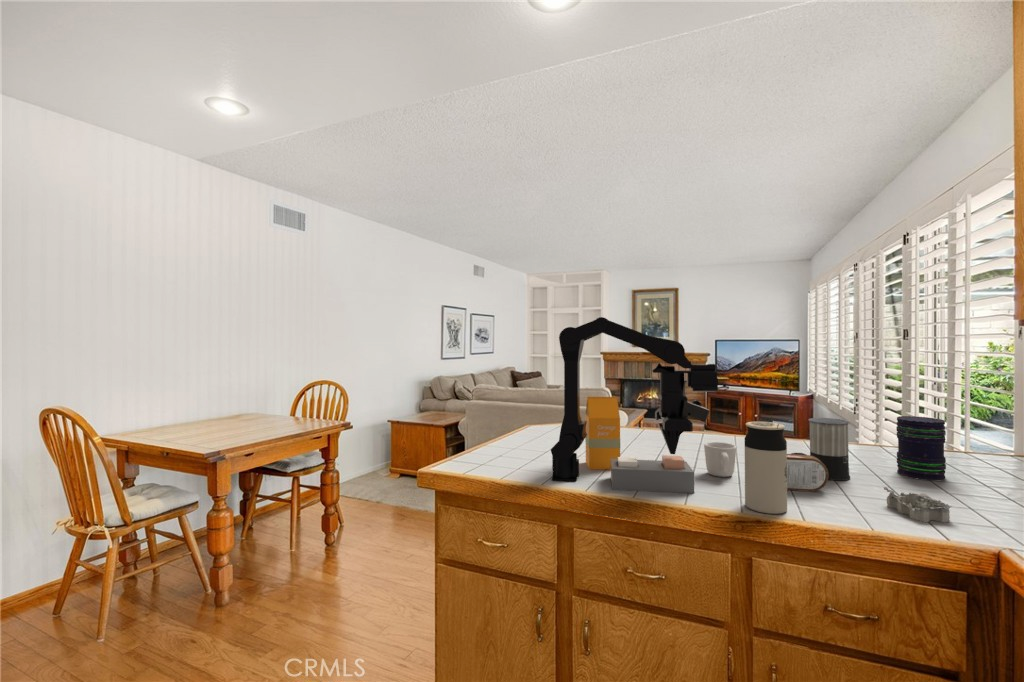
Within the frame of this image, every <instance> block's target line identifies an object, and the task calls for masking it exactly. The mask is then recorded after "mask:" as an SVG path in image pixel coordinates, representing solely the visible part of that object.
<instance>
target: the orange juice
mask: <svg viewBox="0 0 1024 682" xmlns="http://www.w3.org/2000/svg"><path fill="white" fill-rule="evenodd" d="M586 399H587V400H586V407H585V408H586V409H585V414H584V415H585V420H584V421H587V424H586V433H587V436H586V438H585V439H584V440H585V442H584V443H585V463H586V466H587V467H588V469H589V470H611V459H618V457H621V418H620V410H619V404H618V396H587V397H586Z"/></svg>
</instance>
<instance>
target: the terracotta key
mask: <svg viewBox="0 0 1024 682" xmlns="http://www.w3.org/2000/svg"><path fill="white" fill-rule="evenodd" d="M661 461H662V466H663V468H670V469H684V461H685V459H684V458H683V457H682V456H681V455H661Z"/></svg>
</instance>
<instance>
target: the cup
mask: <svg viewBox="0 0 1024 682" xmlns="http://www.w3.org/2000/svg"><path fill="white" fill-rule="evenodd" d="M703 449H704V457H705V465H706V467H705V468H706V471H707V473H708V474H709V475H712V476H714V477H720V478H727V477H732V476H733V475H734V472H735V465H736V457H737V446H736V445H735V444H732V443H728V442H720V441H710V442H705V443H704V444H703Z"/></svg>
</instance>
